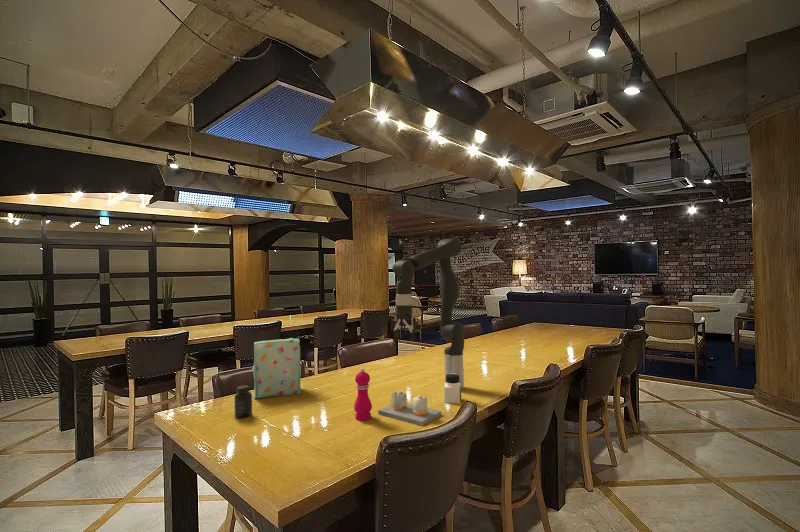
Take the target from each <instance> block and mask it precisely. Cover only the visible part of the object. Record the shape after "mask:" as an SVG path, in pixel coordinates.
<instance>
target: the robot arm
mask: <svg viewBox="0 0 800 532" xmlns="http://www.w3.org/2000/svg"><path fill="white" fill-rule="evenodd" d="M462 249H463V247H462V243H461V241H460V240H459V239H458V238H452V237H451V238H445V239H443V238H442V239H441V240H439V242H438V243H437V247H435V248H431V249H427V250H424V251H421V252H418V253H416V254H414V255H412V256H409V257H405V258H402V259H398V260H396V261H395V262H394V263H393V265H392V271H393V274H395V275H396V276H400V280H399V281H397V282H396V284H395V315H393V316H390V329H391V330H393V331H394V338H395V340H398V339H400V329H401V327H405V328H406V329H408V330H409V336H410V337H409V338H410V339H409V340H410V341H414V340H415V339H416V332H417V331H419V329H420V328H419V318H418V317H413V297H412V295H413V294H412V283H413V280H414V274H415V271H416V270H417V271H418V270H421V269H423V268H425V267H427V266H430V265H431V264H434V263H437V262H438V265H439V277H440V298H441V299H440V300H441V301H440V302H441V304H440V305H441V306H440V307H441V309H440V310H441V312H440V313H441V316H440V335H441V337H442V339H443V340H447V341H451V344H450V346H447V347H445V348H444V350H443V351H444V352H443V353H444V384H445V383H446V375H447V374H451V373H454V374H457V375H459V383H460V384H461V391H463V390H464V389H465V372H464V371H465V369H464V349H465V327H464V324H462V323H461V322H456V321H453V310H454V308H455V306H456V305H457V302H458V300H459V298H460V283H459V280H458V277H457V275H456V274H455V272H454V270H453V267H452V261H451V258H452V257H457V256H459V255H460V253H461V252H462Z"/></svg>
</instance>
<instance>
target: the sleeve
mask: <svg viewBox="0 0 800 532" xmlns="http://www.w3.org/2000/svg"><path fill="white" fill-rule="evenodd" d="M397 392H398V391H394V392H392V393H391V395H390V396H391V397H390V398H391V401H390V402H391V404H390V405H391V407H392V409H393V410H399V411H402V410H404V409H406V408H407V403H408V402H407V395H408V394H407V393H406V392H404V391H399V392H400V394H401V395H397Z"/></svg>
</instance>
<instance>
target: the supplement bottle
mask: <svg viewBox="0 0 800 532" xmlns="http://www.w3.org/2000/svg"><path fill="white" fill-rule="evenodd" d="M233 400H234V401H233V403H234V404H233V405H234V406H233V407H234V417H235V418H236V419H245V418H244V417H246V418H249V417H251V416H252V414H253V394H252V393H251V392H250V385H245V384H244V385H240V386H237V387H236V394H234V398H233ZM250 415H251V416H250ZM248 416H249V417H248Z"/></svg>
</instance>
